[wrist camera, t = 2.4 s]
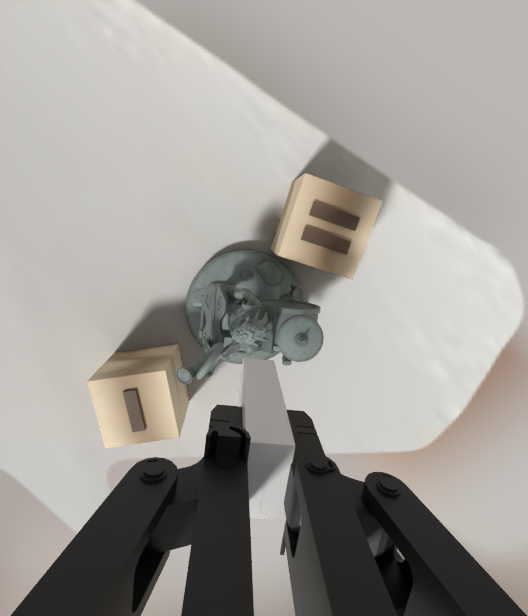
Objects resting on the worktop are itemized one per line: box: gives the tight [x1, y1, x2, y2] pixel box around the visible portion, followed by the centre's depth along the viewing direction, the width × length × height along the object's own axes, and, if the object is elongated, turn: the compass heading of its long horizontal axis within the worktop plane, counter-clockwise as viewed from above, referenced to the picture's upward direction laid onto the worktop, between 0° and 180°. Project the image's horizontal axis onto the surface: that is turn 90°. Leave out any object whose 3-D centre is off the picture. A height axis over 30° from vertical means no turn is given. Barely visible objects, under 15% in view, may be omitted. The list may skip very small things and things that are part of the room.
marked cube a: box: [87, 344, 189, 448], centre depth 30 cm, size 6×6×6 cm
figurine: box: [176, 250, 323, 385], centre depth 26 cm, size 11×11×12 cm
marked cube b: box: [270, 173, 383, 280], centre depth 28 cm, size 6×6×6 cm
